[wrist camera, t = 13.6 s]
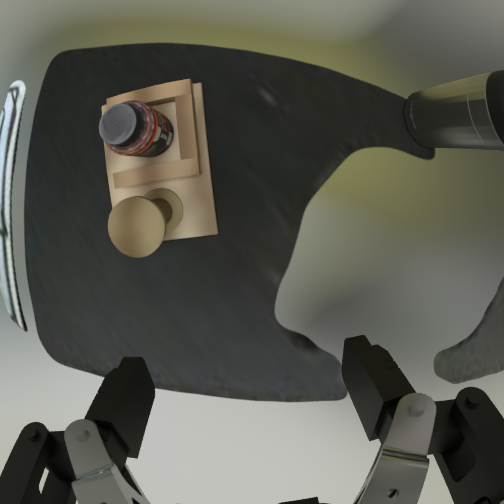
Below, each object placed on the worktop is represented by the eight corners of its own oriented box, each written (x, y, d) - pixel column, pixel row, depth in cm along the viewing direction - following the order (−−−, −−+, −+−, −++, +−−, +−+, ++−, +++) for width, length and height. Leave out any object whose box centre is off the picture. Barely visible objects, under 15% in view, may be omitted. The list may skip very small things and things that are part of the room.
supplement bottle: (184, 131, 32) (160, 117, 21) (153, 167, 33) (118, 169, 22) (152, 104, 31) (118, 82, 20) (123, 139, 32) (79, 132, 21)
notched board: (202, 84, 31) (198, 77, 28) (218, 232, 37) (216, 239, 34) (104, 107, 31) (93, 103, 27) (122, 244, 37) (113, 251, 34)
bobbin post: (179, 184, 34) (158, 192, 24) (186, 230, 36) (168, 254, 26) (136, 191, 34) (103, 202, 24) (144, 235, 36) (114, 260, 26)
